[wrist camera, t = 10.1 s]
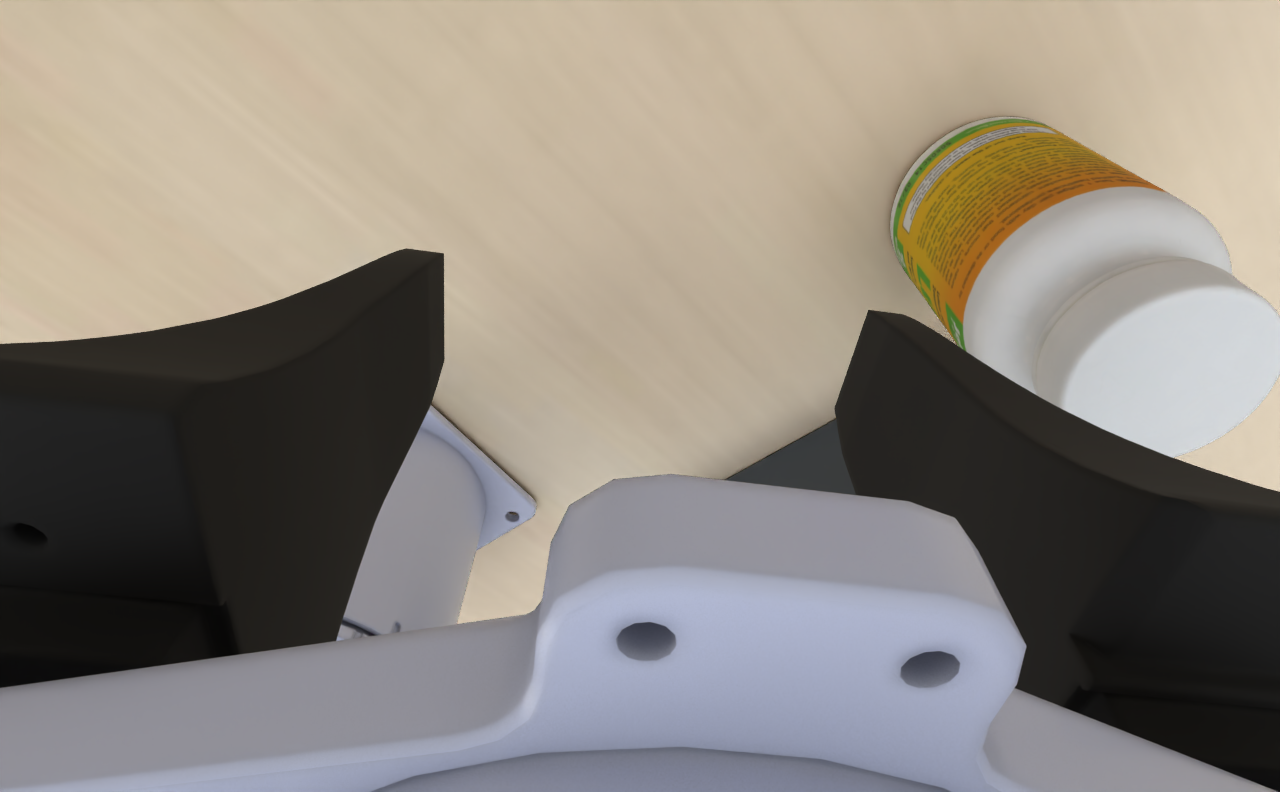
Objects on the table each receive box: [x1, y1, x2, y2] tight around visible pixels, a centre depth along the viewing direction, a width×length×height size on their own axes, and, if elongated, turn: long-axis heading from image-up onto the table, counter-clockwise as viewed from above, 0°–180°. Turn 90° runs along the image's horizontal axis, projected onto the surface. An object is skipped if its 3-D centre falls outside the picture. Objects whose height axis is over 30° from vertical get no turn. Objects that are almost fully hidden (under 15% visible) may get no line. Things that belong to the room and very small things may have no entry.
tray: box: [726, 419, 856, 495], centre depth 28 cm, size 13×13×4 cm
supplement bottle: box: [890, 117, 1280, 458], centre depth 18 cm, size 5×5×10 cm
